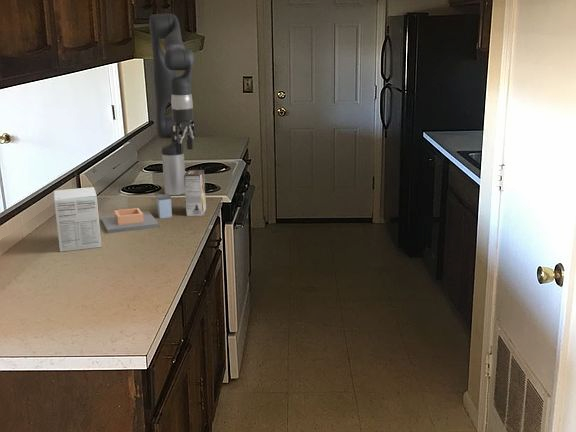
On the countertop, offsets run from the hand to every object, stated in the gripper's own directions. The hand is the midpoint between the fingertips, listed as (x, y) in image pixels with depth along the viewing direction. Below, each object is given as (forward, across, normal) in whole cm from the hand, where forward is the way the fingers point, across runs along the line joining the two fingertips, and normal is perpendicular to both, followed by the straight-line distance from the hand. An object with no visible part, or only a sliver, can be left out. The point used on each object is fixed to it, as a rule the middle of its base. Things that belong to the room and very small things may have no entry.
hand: (184, 151), depth 237 cm
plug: (+25, +1, -9) cm, 27 cm away
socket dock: (+25, +14, -17) cm, 33 cm away
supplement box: (+25, +39, -20) cm, 50 cm away
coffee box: (+25, -6, 0) cm, 26 cm away
